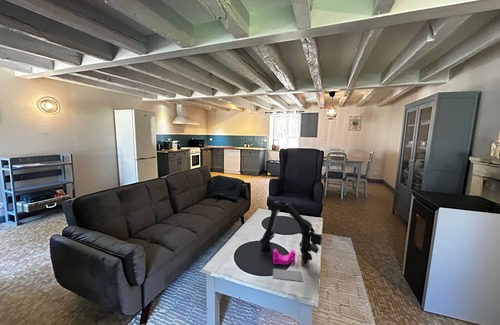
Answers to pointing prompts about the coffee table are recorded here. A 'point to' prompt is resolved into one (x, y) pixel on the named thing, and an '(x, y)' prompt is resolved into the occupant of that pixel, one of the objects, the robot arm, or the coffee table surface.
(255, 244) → the coffee table surface
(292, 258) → the toy block
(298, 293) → the coffee table surface
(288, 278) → the pad
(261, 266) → the coffee table surface
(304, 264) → the walnut block
